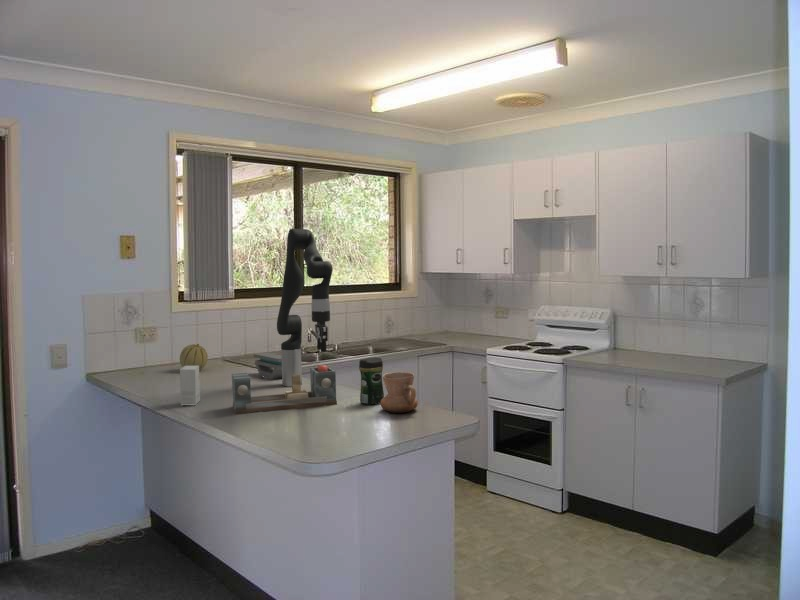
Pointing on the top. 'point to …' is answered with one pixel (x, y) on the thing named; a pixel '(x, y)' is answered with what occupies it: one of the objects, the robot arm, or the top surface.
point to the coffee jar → (371, 380)
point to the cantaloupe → (193, 356)
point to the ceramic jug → (399, 392)
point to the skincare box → (189, 385)
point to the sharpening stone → (269, 365)
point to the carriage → (296, 389)
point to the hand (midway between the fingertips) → (321, 350)
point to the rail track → (318, 396)
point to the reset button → (322, 368)
